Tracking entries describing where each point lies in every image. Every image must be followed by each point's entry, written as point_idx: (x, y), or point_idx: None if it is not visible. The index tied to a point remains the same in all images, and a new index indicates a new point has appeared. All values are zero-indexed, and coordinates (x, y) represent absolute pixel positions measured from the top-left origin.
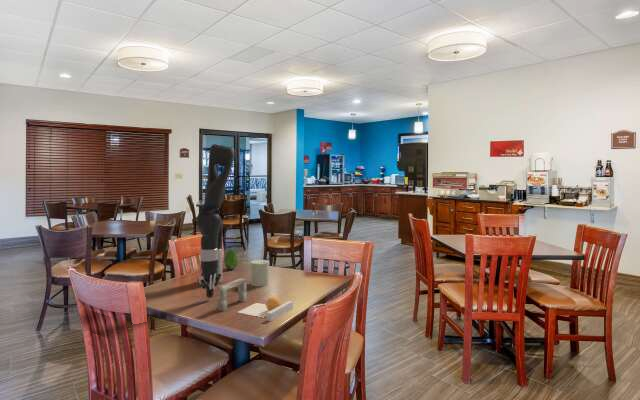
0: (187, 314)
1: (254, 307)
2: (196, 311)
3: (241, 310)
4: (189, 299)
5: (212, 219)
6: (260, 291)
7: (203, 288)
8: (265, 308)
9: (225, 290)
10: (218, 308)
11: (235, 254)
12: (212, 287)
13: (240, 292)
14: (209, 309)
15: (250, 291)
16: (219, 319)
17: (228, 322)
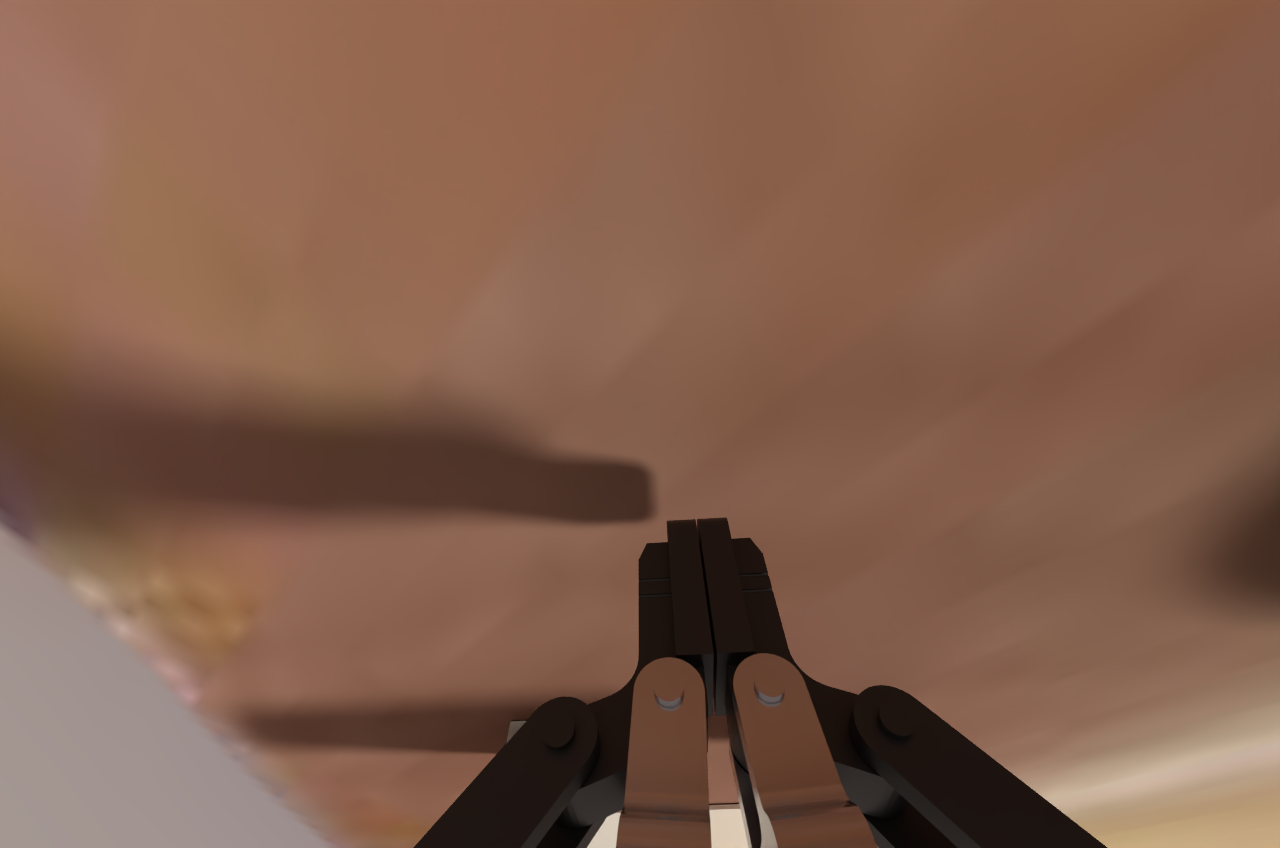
0: (178, 624)
1: (720, 831)
2: (308, 629)
3: (613, 816)
4: (507, 132)
5: None
6: (1241, 694)
7: (539, 722)
8: None
9: None
10: (508, 736)
11: None
12: (734, 759)
13: None
14: (455, 673)
15: (1247, 631)
16: (385, 804)
17: (403, 842)
